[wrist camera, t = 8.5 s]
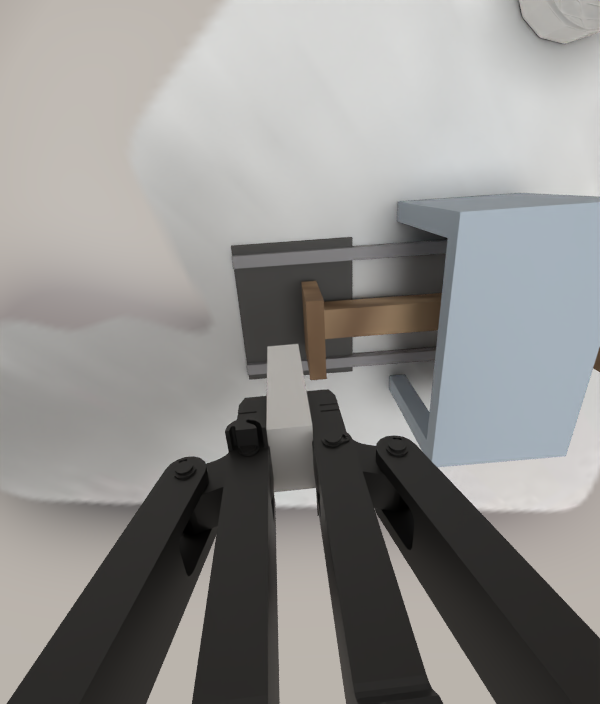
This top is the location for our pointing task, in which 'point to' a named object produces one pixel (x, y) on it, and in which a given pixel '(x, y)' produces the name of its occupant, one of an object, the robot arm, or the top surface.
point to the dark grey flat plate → (288, 299)
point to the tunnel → (493, 323)
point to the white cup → (562, 18)
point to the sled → (364, 320)
